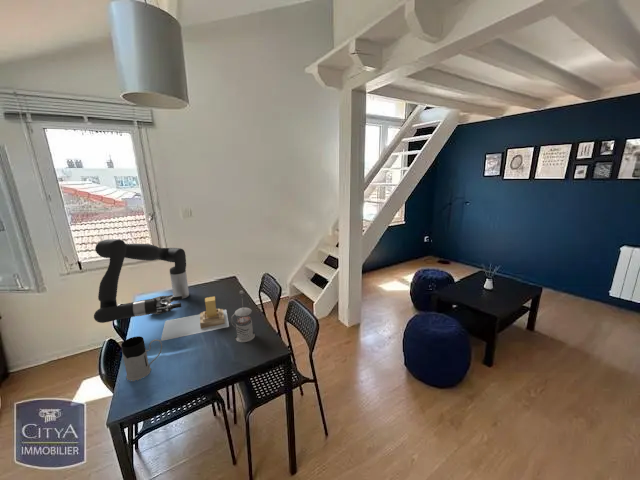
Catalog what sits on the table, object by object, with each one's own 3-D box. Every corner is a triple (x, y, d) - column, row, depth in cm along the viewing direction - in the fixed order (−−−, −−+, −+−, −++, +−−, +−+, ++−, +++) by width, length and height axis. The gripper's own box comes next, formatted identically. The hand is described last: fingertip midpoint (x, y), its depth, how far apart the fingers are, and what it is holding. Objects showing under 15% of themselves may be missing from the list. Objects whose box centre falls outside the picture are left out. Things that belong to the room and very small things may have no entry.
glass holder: (128, 369, 116) (122, 338, 113) (166, 360, 122) (161, 330, 118) (123, 384, 109) (116, 351, 105) (164, 373, 114) (159, 341, 110)
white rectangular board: (165, 322, 152) (165, 320, 152) (226, 310, 164) (226, 309, 164) (160, 342, 134) (160, 340, 134) (229, 328, 146) (229, 326, 146)
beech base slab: (200, 317, 155) (199, 310, 154) (223, 313, 159) (222, 306, 158) (200, 328, 144) (199, 321, 143) (224, 323, 149) (224, 316, 148)
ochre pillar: (207, 314, 152) (205, 297, 150) (216, 312, 154) (214, 296, 152) (207, 318, 148) (205, 301, 145) (217, 316, 150) (215, 300, 147)
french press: (249, 343, 134) (246, 296, 127) (228, 340, 136) (223, 294, 130) (258, 331, 143) (255, 287, 137) (237, 329, 145) (233, 285, 139)
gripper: (141, 307, 130) (179, 300, 136) (146, 294, 143) (181, 288, 149) (144, 321, 132) (181, 314, 138) (149, 307, 145) (183, 301, 151)
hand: (181, 301), depth 143 cm, fingers open, 8 cm apart
